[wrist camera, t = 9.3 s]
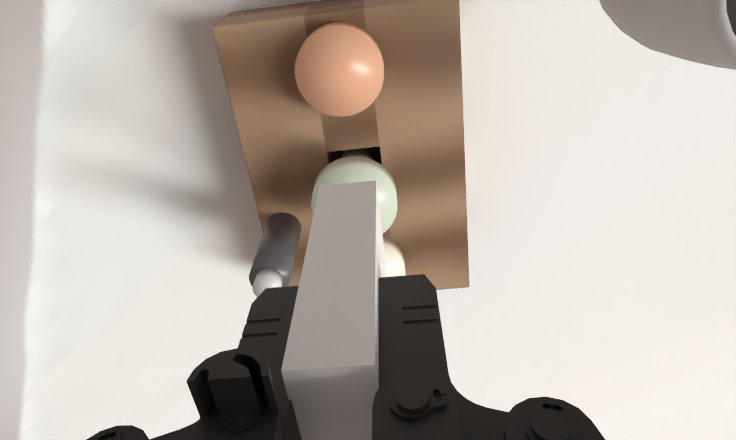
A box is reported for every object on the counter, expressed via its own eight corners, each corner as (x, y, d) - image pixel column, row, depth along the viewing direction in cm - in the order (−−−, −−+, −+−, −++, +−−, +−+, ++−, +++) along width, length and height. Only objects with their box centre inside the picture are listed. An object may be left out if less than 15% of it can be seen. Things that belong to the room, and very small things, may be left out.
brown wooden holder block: (231, 12, 35) (211, 27, 31) (448, -16, 34) (458, -4, 30) (290, 265, 45) (281, 303, 41) (460, 249, 44) (469, 286, 40)
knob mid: (314, 132, 36) (304, 171, 31) (390, 123, 36) (393, 162, 30) (326, 199, 38) (318, 246, 33) (397, 191, 38) (401, 238, 33)
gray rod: (263, 214, 37) (241, 274, 31) (298, 210, 37) (282, 270, 31) (270, 243, 38) (250, 307, 32) (304, 240, 38) (290, 303, 32)
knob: (333, 205, 42) (327, 249, 36) (398, 198, 41) (402, 242, 36) (342, 259, 44) (338, 308, 39) (404, 253, 44) (408, 301, 39)
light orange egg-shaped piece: (300, 13, 35) (286, 33, 30) (378, 3, 35) (378, 21, 29) (313, 90, 37) (303, 121, 32) (386, 81, 37) (388, 111, 32)
